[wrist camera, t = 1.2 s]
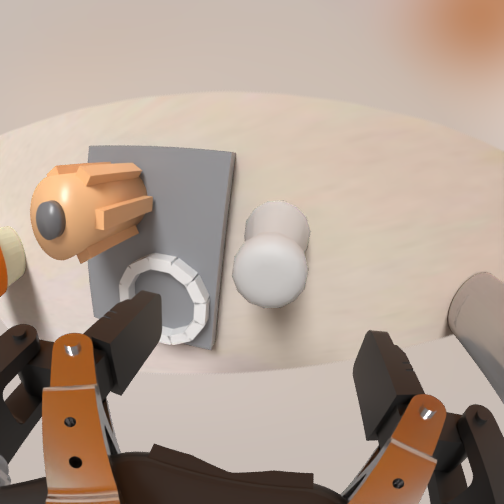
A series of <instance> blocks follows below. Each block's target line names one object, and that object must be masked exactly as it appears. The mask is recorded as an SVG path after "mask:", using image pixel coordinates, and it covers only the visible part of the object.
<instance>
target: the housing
mask: <svg viewBox="0 0 504 504" xmlns="http://www.w3.org/2000/svg"><path fill="white" fill-rule="evenodd" d="M235 156H236V153H233V152H226V151H216V150H205V149H192V148H178V147H158V146H89V154H88V163H83V164H70V165H60V166H55V167H54V168H53V169H52V170H51V171H50V172H49V173H48V174H47V177H46V178H44V179H43V180H42V181H41V182H40V183H39V184H38V185H37V187H36V189H35V191H34V193H33V196H32V200H31V208H30V216H31V224H32V229H33V232H34V235H35V237H36V240H37V241H38V243H39V245H40V246H41V248H42V249H43V250H44V251H45V252H46V253H47V254H48V255H49V256H50V257H52V258H54V259H57V260H66V259H69V258H71V257H73V256H75V255H77V257H78V259H79V261H80V263H81V264H82V263H83V262H85V261H87V260H88V269H89V280H90V289H91V297H92V305H93V312H94V317H96V318H99V319H100V318H101V317H104V315H105V314H106V313H107V312H108V311H110V309H111V308H112V307H114V306H115V305H116V304H117V303H119V302H122V301H124V300H126V299H130V300H131V299H132V298H133V297H134V296H135V295H136V294H137V293H139V292H140V291H141V290H145V291H149V292H153V293H157V294H160V295H161V299H162V334H161V338H160V340H159V342H161V343H165V344H168V345H171V344H172V345H176V344H181V343H183V344H187V345H191V346H195V347H199V348H204V349H208V350H211V349H212V347H213V344H214V342H215V337H216V326H217V315H218V304H219V294H220V284H221V274H222V264H223V255H224V246H225V237H226V228H227V220H228V211H229V203H230V195H231V187H232V179H233V171H234V164H235Z"/></svg>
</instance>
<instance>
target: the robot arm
mask: <svg viewBox="0 0 504 504" xmlns="http://www.w3.org/2000/svg"><path fill="white" fill-rule="evenodd" d="M448 323H449V327H450V329H451V331H452V332H453V334H454V335H455V336H456V338H457V339H458V340H459V341H460V342H461V344H462V345H463V346H464V348H465V349H466V350H467V352H468V353H469V355H470V356H471V357H472V359H473V360H474V361H475V363H476V364H477V365H478V367H479V368H480V370H481V371H482V372H483V374H484V375H485V377H486V378H487V380H488V381H489V382H490V384H491V385H492V387H493V388H494V390H495V391H496V393H497V394H498V396H499V397H500V399H501V401H502V402H503V404H504V283H503V282H502V281H501V280H499V279H498V278H496V277H495V276H493V275H492V274H490V273H486V272H484V273H479V274H476V275H474V276H473V277H471V278H469V279H468V280H467V281H466V282H465V283H464V284H463V285H462V286H461V288H460V289H459V290H458V292H457V293H456V295H455V297H454V299H453V301H452V303H451V306H450V310H449V315H448ZM161 334H162V299H161V295H160V294H157V293H153V292H149V291H145V290H141V291H140V292H139V293H137V294H136V295H135V296H134V297H133V298H132V299H131V300H130V299H126V300H124V301H122V302H119V303H117V304H116V305H115V306H114V307H112V308H111V309H110V311H108V312H107V313H106V314H105V315H104V317H101V318H100V319H99V320H98V321H97V322H96V323H95V324H93V325H92V326H91V327H90V328H89V329H88V330H87V331H86V332H85V333H84V334H80V333H69V334H65V335H63V336H61V337H59V338H58V339H57V340H56V341H55V342H50V341H44V340H39V338H38V335H37V331H36V329H35V328H34V327H33V326H31V325H27V324H20V325H16V326H13V327H11V328H10V329H8V330H7V331H6V332H5V333H4V334H2V335H1V336H0V504H419V502H420V500H421V498H422V496H423V494H424V492H425V489H426V487H427V485H428V490H429V496H430V502H431V504H504V437H503V435H502V433H501V431H500V429H499V426H498V424H497V422H496V420H495V418H494V416H493V415H492V413H491V412H490V411H489V410H488V409H487V408H485V407H484V406H481V405H476V404H475V405H471V406H469V407H468V408H467V409H466V411H465V412H464V413H463V415H459V414H454V413H448V412H446V409H445V406H444V405H443V404H442V402H441V401H439V400H438V399H437V398H435V397H433V396H431V395H427V394H425V393H424V391H423V388H422V387H421V384H420V382H419V380H418V378H417V376H416V374H415V372H414V371H413V368H412V366H411V364H410V362H409V360H408V358H407V356H406V354H405V353H404V352H403V351H402V350H401V349H400V348H399V347H398V346H397V345H394V344H393V342H392V340H391V338H390V336H389V334H388V333H387V332H382V331H372V330H369V331H368V332H367V333H366V335H365V338H364V340H363V343H362V345H361V348H360V350H359V353H358V355H357V358H356V360H355V363H354V367H353V378H354V383H355V387H356V391H357V396H358V400H359V405H360V410H361V415H362V420H363V425H364V430H365V435H366V440H367V441H369V440H378V442H379V446H378V447H377V448H376V449H375V451H374V452H373V454H372V455H371V457H370V458H369V460H368V461H367V462H366V464H365V465H364V466H363V468H362V469H361V471H360V472H359V473H358V475H357V476H356V477H355V478H354V480H353V481H352V482H351V483H350V485H349V486H348V487H347V488H346V489H345V490H344V491H343V492H342V494H341V495H340V494H338V493H336V492H335V491H333V490H331V489H328V488H326V487H324V486H321V485H318V484H314V483H313V473H295V472H283V471H263V472H247V473H231V472H227V471H225V470H222V469H220V468H218V467H216V466H213V465H211V464H209V463H207V462H205V461H202V460H201V459H198V458H196V457H194V456H192V455H189V454H186V453H182V452H179V451H175V450H172V449H169V448H165V447H162V446H160V445H157V444H154V445H153V447H152V449H151V451H150V453H149V452H125V453H121V451H120V449H119V446H118V443H117V440H116V437H115V432H114V428H113V424H112V419H111V415H110V410H109V406H108V401H107V395H108V394H109V392H110V391H111V392H113V393H116V394H118V395H122V394H123V392H124V391H125V390H126V388H127V387H128V385H129V384H130V382H131V381H132V379H133V378H134V377H135V375H136V374H137V372H138V371H139V369H140V368H141V366H142V365H143V364H144V362H145V361H146V359H147V358H148V356H149V355H150V354H151V352H152V351H153V349H154V348H155V347H156V345H157V344H158V342H159V340H160V338H161ZM17 374H18V375H19V378H20V380H21V384H20V385H19V386H18V387H17V388H16V389H15V390H14V391H13V392H12V393H11V395H10V396H9V397H8V398H7V399H6V400H5V401H4V400H3V390H4V388H5V386H6V385H7V384H8V383H9V382H10V381H11V380H12V379H13V378H14V377H15V376H16V375H17ZM41 417H42V436H43V452H44V463H45V472H46V477H42V478H38V479H34V480H30V481H26V482H21V483H16V484H12V485H10V483H11V479H10V476H9V475H8V472H9V470H8V464H9V462H10V461H11V459H12V458H13V456H14V455H15V453H16V452H17V450H18V449H19V447H20V446H21V445H22V443H23V442H24V440H25V439H26V438H27V436H28V435H29V433H30V432H31V430H32V429H33V428H34V426H35V425H36V424H37V422H38V421H39V420H40V418H41ZM467 457H468V459H469V463H470V466H471V469H472V472H473V480H472V483H471V485H470V486H469V487H467V483H466V479H465V476H464V472H463V469H462V466H461V463H462V462H463V461H464V460H465V459H466V458H467Z"/></svg>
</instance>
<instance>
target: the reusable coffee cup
mask: <svg viewBox="0 0 504 504" xmlns="http://www.w3.org/2000/svg"><path fill="white" fill-rule="evenodd" d="M25 267H26V259H25V252H24V248H23V245H22V242H21V240H20V238H19V236H18V234H17V233H16V231H15V230H14V229H13V228H11V227H9V226H7V227H1V228H0V297H1V296H2V295H3V294H4V293H5V292H6V290H7V287H9V286H10V285H11V284H12V283H14V282H15V281H16V280H17V279H19V278H20V277H21V276H22V275H23V274H24V272H25Z"/></svg>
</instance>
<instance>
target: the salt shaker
mask: <svg viewBox="0 0 504 504" xmlns="http://www.w3.org/2000/svg"><path fill="white" fill-rule="evenodd" d="M244 236H245V242H244V244H243V245H242V247H241V248H240V250H239V251H238V253H237V254H236V256H235V258H234V265H233V273H232V277H233V280H234V283H235V285H236V288H237V290H238V292H239V293H240V294H241V295H242V296H243V297H244V298H245V299H246V300H247V301H248V302H249V303H252V304H254V305H257V306H260V307H262V308H280V307H282V306H284V305H287V304H289V303H291V302H293V301H294V300H295V299H296V298H297V297H298V296H299V294H300V293H301V292H302V291H303V290H304V288H305V284H306V280H307V275H308V270H309V269H308V265H307V261H306V257H305V251H306V249H307V247H308V242H309V237H310V228H309V224H308V220H307V217H306V216H305V215H304V214H303V213H302V212H301V211H300V210H299V208H298V207H297V206H295V205H292V204H290V203H287V202H285V201H268V202H266V203H264V204H262V205H260V206H259V207H257V208H255V209H254V210H253V212H252V213H251V215H250V216H249V218H248V219H247V221H246V227H245V235H244Z"/></svg>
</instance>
